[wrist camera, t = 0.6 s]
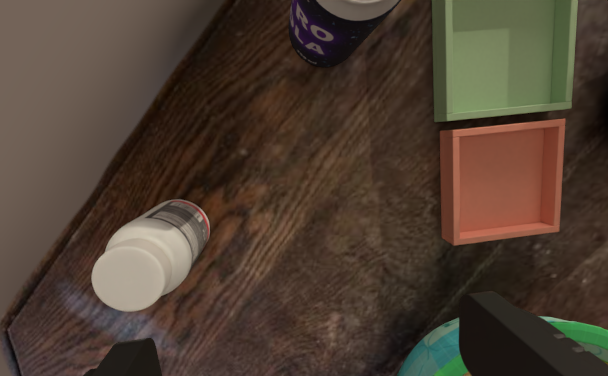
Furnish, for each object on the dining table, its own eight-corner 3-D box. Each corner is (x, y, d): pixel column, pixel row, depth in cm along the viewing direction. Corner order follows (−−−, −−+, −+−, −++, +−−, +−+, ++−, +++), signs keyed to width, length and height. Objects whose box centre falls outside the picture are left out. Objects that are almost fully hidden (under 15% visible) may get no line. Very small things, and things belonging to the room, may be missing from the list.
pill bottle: (164, 265, 27) (104, 337, 18) (137, 211, 26) (57, 255, 17) (221, 244, 27) (192, 302, 18) (196, 189, 26) (151, 219, 17)
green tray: (431, -16, 25) (444, -29, 23) (556, -24, 26) (580, -37, 24) (433, 122, 27) (446, 121, 25) (550, 110, 28) (571, 108, 26)
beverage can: (301, -17, 24) (327, -159, 13) (366, 12, 25) (446, -97, 13) (278, 54, 25) (282, -18, 13) (342, 79, 26) (398, 33, 14)
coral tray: (439, 130, 27) (452, 130, 25) (544, 119, 28) (565, 118, 26) (441, 238, 29) (453, 246, 27) (540, 225, 30) (559, 231, 28)
